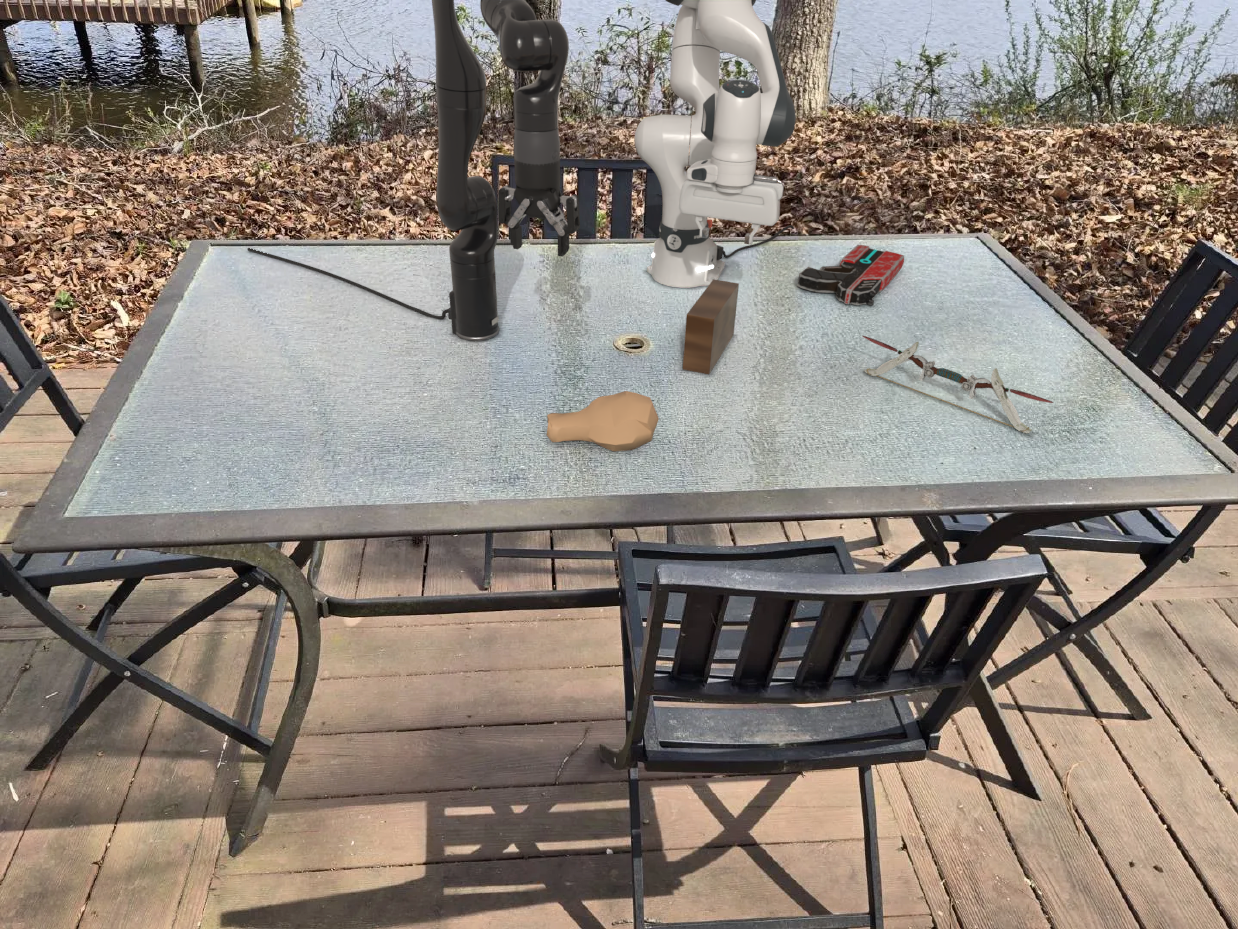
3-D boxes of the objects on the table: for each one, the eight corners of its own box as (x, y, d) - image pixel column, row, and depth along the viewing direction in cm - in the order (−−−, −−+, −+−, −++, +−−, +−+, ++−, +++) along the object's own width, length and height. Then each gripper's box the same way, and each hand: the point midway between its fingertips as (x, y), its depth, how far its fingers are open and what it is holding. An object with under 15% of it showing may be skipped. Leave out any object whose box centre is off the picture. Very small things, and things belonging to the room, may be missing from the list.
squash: (661, 458, 153) (657, 419, 147) (548, 466, 154) (539, 428, 148) (659, 417, 161) (656, 379, 154) (552, 426, 162) (544, 388, 156)
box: (709, 374, 179) (714, 319, 172) (682, 369, 181) (686, 314, 174) (733, 335, 195) (739, 283, 188) (708, 331, 196) (713, 279, 189)
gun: (795, 274, 213) (872, 294, 206) (838, 237, 235) (909, 253, 227) (792, 292, 216) (868, 311, 208) (835, 253, 238) (905, 269, 230)
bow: (1043, 436, 162) (1060, 388, 156) (1039, 439, 161) (1056, 392, 155) (858, 367, 183) (866, 322, 177) (853, 369, 182) (862, 325, 176)
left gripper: (586, 155, 144) (585, 250, 153) (508, 145, 148) (512, 238, 157) (567, 166, 138) (568, 265, 147) (487, 156, 143) (493, 252, 152)
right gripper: (788, 173, 172) (779, 242, 179) (688, 161, 177) (683, 228, 185) (781, 182, 167) (772, 252, 174) (678, 169, 172) (674, 237, 180)
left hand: (539, 251), depth 152 cm, fingers open, 8 cm apart
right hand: (726, 240), depth 180 cm, fingers open, 8 cm apart
